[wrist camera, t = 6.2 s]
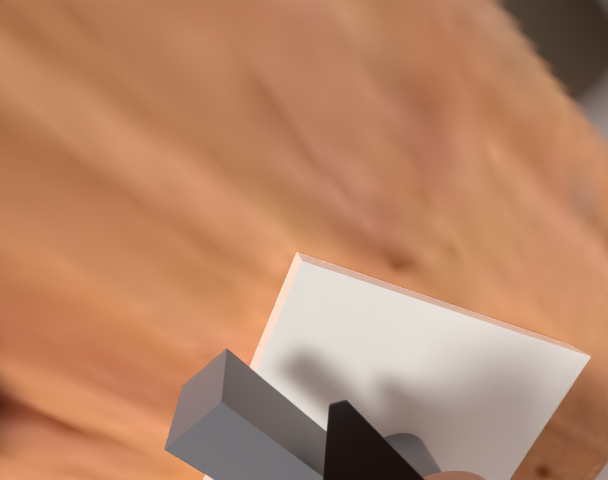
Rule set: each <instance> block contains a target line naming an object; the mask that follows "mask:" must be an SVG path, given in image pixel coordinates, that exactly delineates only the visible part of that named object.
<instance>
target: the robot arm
mask: <svg viewBox="0 0 608 480" xmlns="http://www.w3.org/2000/svg"><path fill="white" fill-rule="evenodd" d="M323 480H425V479H424V478H423V477H422V476H421V475H420V474H419V473H418V472H417V471H416V470H415V469H414V468H413V467H412V466H411V465H410V464H409V463H408V462H407V461H406V460H405V459H404V458H403V457H402V456H401V455H400V454H399V452H398V451H397V450H396V449H395V448H394V447H393V446H392V445H391V444H390V443H389V442H388V441H387V440H386V439H385V438H384V437H383V436H382V435H381V434H380V433H379V432H378V431H377V430H376V429H375V428H374V427H373V426H372V425H371V424H370V423H369V422H368V421H367V420H366V419H365V418H364V417H363V416H362V415H361V414H360V413H359V412H358V411H357V410H356V409H355V408H354V407H353V406H352V405H351V403H350V402H348V401H347V400H341V401H338V402H334V403H331V404H329V409H328V421H327V434H326V447H325V460H324V473H323Z"/></svg>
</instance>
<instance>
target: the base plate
mask: <svg viewBox="0 0 608 480" xmlns="http://www.w3.org/2000/svg"><path fill="white" fill-rule="evenodd" d="M590 357H591V356H589V355H587V354H586V353H584V352H582V351H580V350H578V349H577V348H575V347H573V346H571V345H570V344H568V343H565V342H562V341H559V340H556V339H553V338H550V337H547V336H544V335H541V334H538V333H535V332H532V331H529V330H526V329H523V328H520V327H518V326H515V325H512V324H509V323H506V322H503V321H500V320H497V319H494V318H491V317H488V316H485V315H482V314H479V313H476V312H473V311H470V310H467V309H465V308H462V307H459V306H456V305H453V304H450V303H447V302H444V301H441V300H438V299H435V298H432V297H429V296H426V295H423V294H420V293H417V292H414V291H411V290H409V289H406V288H403V287H400V286H397V285H394V284H391V283H388V282H385V281H382V280H379V279H376V278H373V277H370V276H367V275H364V274H361V273H358V272H355V271H353V270H350V269H347V268H344V267H341V266H338V265H335V264H332V263H329V262H326V261H323V260H320V259H317V258H314V257H311V256H308V255H305V254H302V253H299V252H296V254H295V257H294V259H293V262H292V264H291V267H290V269H289V271H288V274H287V276H286V279H285V281H284V284H283V286H282V289H281V291H280V293H279V296H278V298H277V301H276V303H275V306H274V308H273V310H272V313H271V315H270V318H269V320H268V323H267V325H266V327H265V330H264V332H263V335H262V337H261V340H260V342H259V344H258V347H257V349H256V352H255V354H254V357H253V359H252V361H251V364H250V366H249V367H250V368H251V369H252V370H253V371H255V372H256V373H257V374H258V375H259V376H261V377H262V378H263V379H264V380H265V381H267V382H268V383H269V384H270V385H271V386H273V387H274V388H275V389H276V390H277V391H279V392H280V393H281V394H282V395H283V396H285V397H286V398H287V399H288V400H289V401H291V402H292V403H293V404H294V405H295V406H297V407H298V408H299V409H300V410H301V411H303V412H304V413H305V414H306V415H307V416H309V417H310V418H311V419H312V420H313V421H315V422H316V423H317V424H318V425H319V426H321V427H322V428H323V429H324V430H325V431H327V421H328V409H329V404H331V403H334V402H338V401H341V400H347V401H348V402H350V403H351V405H352V406H353V407H354V408H355V409H356V410H357V411H358V412H359V413H360V414H361V415H362V416H363V417H364V418H365V419H366V420H367V421H368V422H369V423H370V424H371V425H372V426H373V427H374V428H375V429H376V430H377V431H378V432H379V433H380V434H381V435H382V436H383V437H384V438H385V439H386V440H387V441H388V442H389V443H390V444H391V445H392V446H393V447H394V448H395V449H396V450H397V451H398V452H399V454H400V455H401V456H402V457H403V458H404V459H405V460H406V461H407V462H408V463H409V464H410V465H411V466H412V467H413V468H414V469H415V470H416V471H417V472H418V473H419V474H420V475H421V476H422V477H425V476H428V475H431V474H434V473H439V472H445V471H466V472H471V473H474V474H477V475H479V476H481V477H483V478H484V479H486V480H510V478H511V477H512V475H513V474H514V472H515V471H516V469H517V468H518V466H519V465H520V463H521V462H522V460H523V459H524V457H525V456H526V454H527V453H528V451H529V450H530V448H531V447H532V445H533V444H534V442H535V441H536V439H537V438H538V436H539V435H540V433H541V432H542V430H543V429H544V427H545V425H546V424H547V422H548V421H549V419H550V418H551V416H552V415H553V413H554V412H555V410H556V409H557V407H558V406H559V404H560V403H561V401H562V400H563V398H564V397H565V395H566V394H567V392H568V391H569V389H570V388H571V386H572V385H573V383H574V382H575V380H576V379H577V377H578V376H579V374H580V373H581V371H582V369H583V368H584V366H585V365H586V363H587V362H588V360H589V359H590ZM203 480H214V479H212V478H211V477H209V476H207V475H206V474H205V476H204V478H203Z"/></svg>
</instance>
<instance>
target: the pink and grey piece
mask: <svg viewBox="0 0 608 480" xmlns="http://www.w3.org/2000/svg"><path fill="white" fill-rule="evenodd" d="M326 434H327V431H325V430H324V429H323V428H322V427H321V426H319V425H318V424H317V423H316V422H315V421H313V420H312V419H311V418H310V417H309V416H307V415H306V414H305V413H304V412H303V411H301V410H300V409H299V408H298V407H297V406H295V405H294V404H293V403H292V402H291V401H289V400H288V399H287V398H286V397H285V396H283V395H282V394H281V393H280V392H279V391H277V390H276V389H275V388H274V387H273V386H271V385H270V384H269V383H268V382H267V381H265V380H264V379H263V378H262V377H261V376H259V375H258V374H257V373H256V372H255V371H253V370H252V369H251V368H250V367H249V366H247V365H246V364H245V363H244V362H243V361H241V360H240V359H239V358H238V357H237V356H235V355H234V354H233V353H232V352H231V351H229V350H228V349H225V350H224V351H223V352H222V353H221V354H220V355H218V356H217V357H216V358H215V359H214V360H212V361H211V362H210V363H209V364H208V365H207V366H205V367H204V368H203V369H202V370H201V371H200V372H198V373H197V374H196V375H195V376H194V377H192V378H191V379H190V380H189V381H188V382H187V383H185V384H184V385H183V386H182V389H181V393H180V397H179V400H178V404H177V407H176V411H175V414H174V418H173V421H172V425H171V428H170V432H169V436H168V439H167V443H166V446H165V450H166V451H168V452H169V453H171V454H173V455H174V456H176V457H178V458H179V459H181V460H183V461H184V462H186V463H188V464H189V465H191V466H192V467H194V468H196V469H197V470H199V471H201V472H202V473H204V474H206V475H207V476H209V477H211V478H212V479H214V480H323V473H324V460H325V447H326ZM423 478H424V479H425V480H486V479H484V478H483V477H481V476H479V475H477V474H474V473H471V472H466V471H445V472H439V473H434V474H431V475H428V476H425V477H423Z"/></svg>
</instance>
